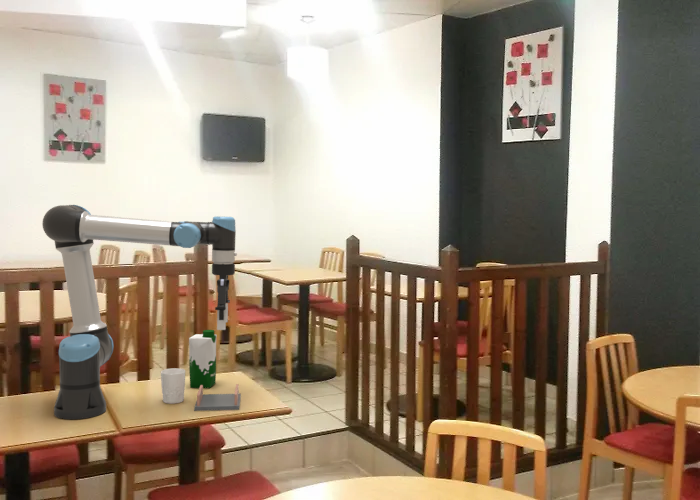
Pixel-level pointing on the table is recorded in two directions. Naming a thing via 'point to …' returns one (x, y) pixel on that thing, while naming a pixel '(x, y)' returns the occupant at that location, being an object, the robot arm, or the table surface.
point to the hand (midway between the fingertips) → (222, 325)
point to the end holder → (217, 401)
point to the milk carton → (202, 359)
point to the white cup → (173, 385)
